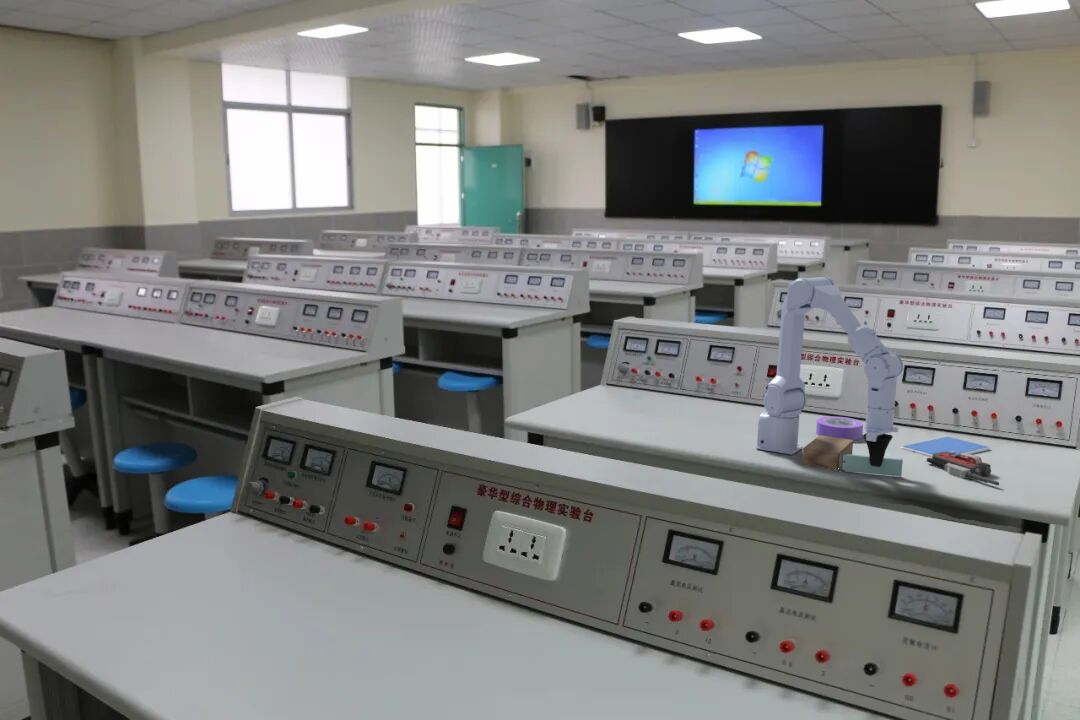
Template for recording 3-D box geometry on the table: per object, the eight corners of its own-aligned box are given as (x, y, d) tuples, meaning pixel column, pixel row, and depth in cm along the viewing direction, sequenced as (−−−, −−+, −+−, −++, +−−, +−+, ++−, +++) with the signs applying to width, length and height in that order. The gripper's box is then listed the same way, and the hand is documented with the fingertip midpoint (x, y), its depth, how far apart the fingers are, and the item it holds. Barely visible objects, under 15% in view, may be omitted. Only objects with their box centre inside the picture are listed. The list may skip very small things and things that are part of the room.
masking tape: (853, 443, 226) (854, 429, 225) (809, 436, 233) (810, 422, 232) (868, 434, 235) (869, 420, 235) (824, 427, 242) (825, 414, 241)
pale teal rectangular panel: (842, 470, 201) (843, 454, 200) (842, 469, 202) (843, 453, 201) (901, 476, 197) (902, 460, 196) (901, 475, 198) (902, 459, 197)
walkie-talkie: (918, 466, 208) (994, 491, 190) (920, 448, 207) (996, 471, 189) (944, 461, 211) (1021, 485, 194) (946, 444, 211) (1023, 466, 193)
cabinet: (801, 465, 206) (802, 447, 205) (818, 450, 218) (820, 433, 218) (841, 472, 201) (842, 453, 200) (857, 456, 213) (858, 439, 213)
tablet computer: (942, 463, 211) (943, 457, 211) (898, 450, 222) (898, 445, 221) (991, 452, 221) (992, 447, 220) (946, 440, 231) (947, 435, 231)
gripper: (892, 415, 187) (887, 476, 190) (906, 403, 199) (901, 461, 201) (858, 410, 191) (853, 471, 193) (874, 399, 203) (869, 456, 205)
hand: (875, 465), depth 198 cm, fingers closed, pressing on pale teal rectangular panel
